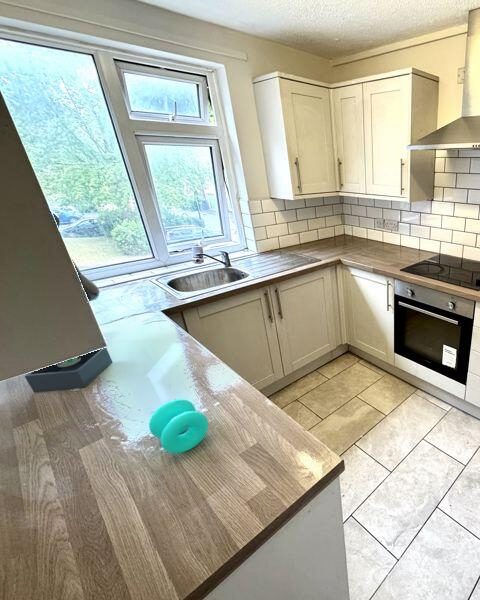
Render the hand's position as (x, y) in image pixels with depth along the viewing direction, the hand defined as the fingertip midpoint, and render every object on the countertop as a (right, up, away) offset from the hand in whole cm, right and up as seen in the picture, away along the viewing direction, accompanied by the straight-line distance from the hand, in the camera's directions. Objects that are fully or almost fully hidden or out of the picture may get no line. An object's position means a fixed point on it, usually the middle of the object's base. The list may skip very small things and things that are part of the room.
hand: (50, 332), depth 96 cm
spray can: (-1, -10, +7) cm, 12 cm away
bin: (-1, -15, +9) cm, 17 cm away
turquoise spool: (+49, -26, -14) cm, 57 cm away
